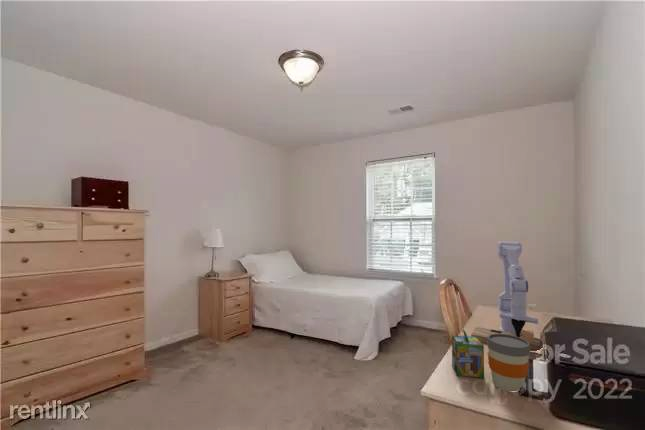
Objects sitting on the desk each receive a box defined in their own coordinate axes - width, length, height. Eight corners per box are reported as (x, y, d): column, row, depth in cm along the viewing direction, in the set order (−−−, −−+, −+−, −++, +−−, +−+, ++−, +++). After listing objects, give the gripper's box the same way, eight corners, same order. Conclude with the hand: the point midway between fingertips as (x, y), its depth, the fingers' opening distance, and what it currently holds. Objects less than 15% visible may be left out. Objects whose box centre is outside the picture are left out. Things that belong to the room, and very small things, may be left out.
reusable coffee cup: (537, 388, 104) (537, 342, 105) (518, 400, 98) (518, 351, 98) (498, 372, 115) (499, 330, 115) (479, 381, 108) (479, 337, 108)
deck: (476, 331, 156) (476, 320, 156) (542, 344, 141) (542, 332, 141) (471, 339, 146) (471, 327, 146) (542, 355, 130) (542, 341, 130)
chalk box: (484, 379, 110) (484, 336, 110) (456, 376, 112) (456, 334, 112) (477, 366, 119) (477, 327, 119) (451, 364, 121) (451, 325, 121)
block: (522, 338, 141) (522, 329, 141) (533, 340, 139) (533, 331, 139) (522, 341, 138) (522, 332, 138) (533, 343, 136) (533, 333, 136)
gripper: (498, 305, 142) (498, 335, 141) (538, 311, 133) (537, 343, 133) (500, 301, 147) (500, 331, 147) (538, 307, 139) (538, 338, 139)
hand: (518, 336), depth 140 cm, fingers closed
